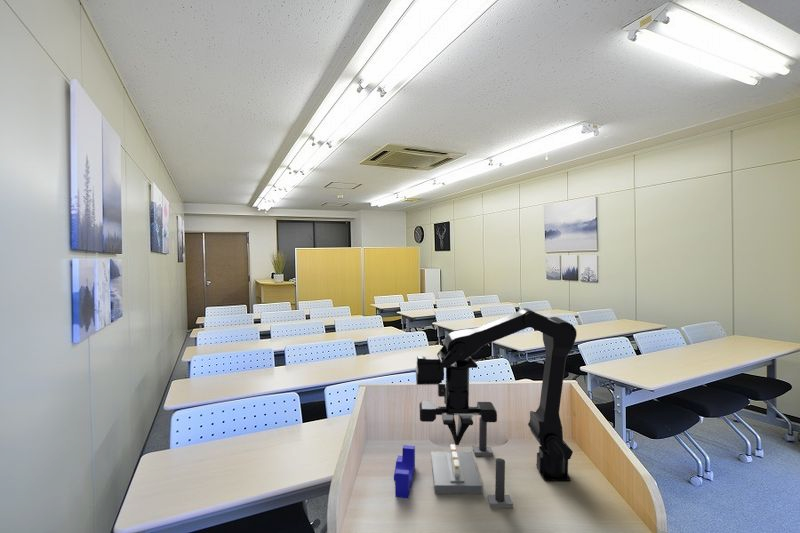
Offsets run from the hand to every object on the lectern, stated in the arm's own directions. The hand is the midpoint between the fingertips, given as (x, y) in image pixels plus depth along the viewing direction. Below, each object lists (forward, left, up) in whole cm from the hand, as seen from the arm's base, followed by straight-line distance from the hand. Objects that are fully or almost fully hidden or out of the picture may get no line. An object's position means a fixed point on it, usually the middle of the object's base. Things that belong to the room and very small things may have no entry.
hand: (456, 444), depth 95 cm
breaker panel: (0, 0, -8) cm, 8 cm away
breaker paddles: (0, 0, -6) cm, 6 cm away
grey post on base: (-9, -10, -8) cm, 15 cm away
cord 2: (-9, +10, -8) cm, 15 cm away
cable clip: (+14, +2, -9) cm, 16 cm away
